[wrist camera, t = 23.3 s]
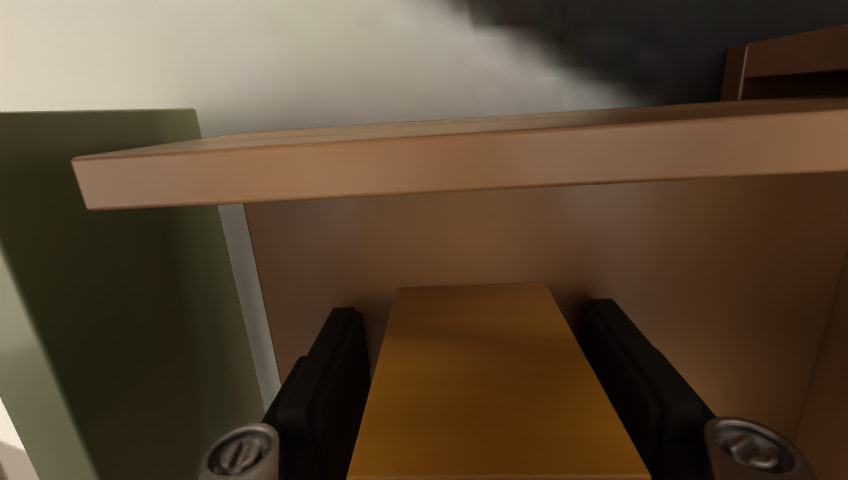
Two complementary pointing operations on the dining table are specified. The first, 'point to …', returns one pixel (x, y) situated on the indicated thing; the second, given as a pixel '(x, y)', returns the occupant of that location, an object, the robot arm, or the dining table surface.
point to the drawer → (411, 258)
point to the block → (487, 393)
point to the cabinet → (788, 66)
